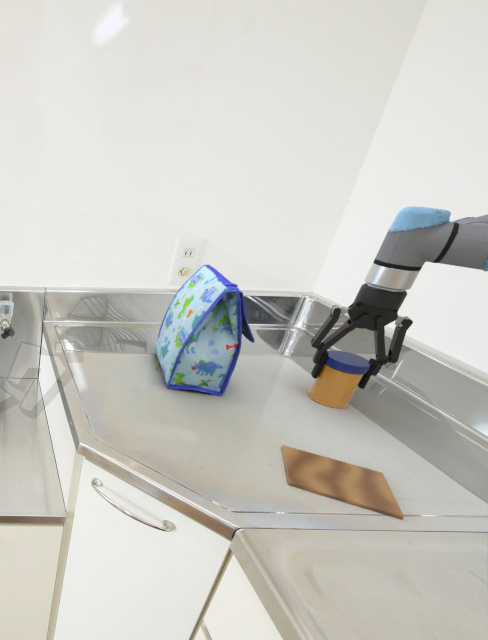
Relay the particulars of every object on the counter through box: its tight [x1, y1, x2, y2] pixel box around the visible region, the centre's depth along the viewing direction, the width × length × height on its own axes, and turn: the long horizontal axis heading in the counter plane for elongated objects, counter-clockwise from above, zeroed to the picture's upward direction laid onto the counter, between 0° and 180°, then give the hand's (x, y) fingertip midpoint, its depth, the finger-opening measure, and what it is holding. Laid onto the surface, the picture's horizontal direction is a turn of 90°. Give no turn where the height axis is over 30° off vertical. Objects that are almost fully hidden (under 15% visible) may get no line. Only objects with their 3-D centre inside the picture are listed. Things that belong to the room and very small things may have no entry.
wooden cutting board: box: [281, 444, 405, 520], centre depth 76 cm, size 16×12×1 cm
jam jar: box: [307, 363, 364, 409], centre depth 99 cm, size 8×8×11 cm
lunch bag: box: [154, 264, 256, 397], centre depth 104 cm, size 22×17×26 cm
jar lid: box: [325, 349, 371, 374], centre depth 96 cm, size 8×8×2 cm
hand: (336, 380), depth 99 cm, fingers closed on jar lid, 8 cm apart
